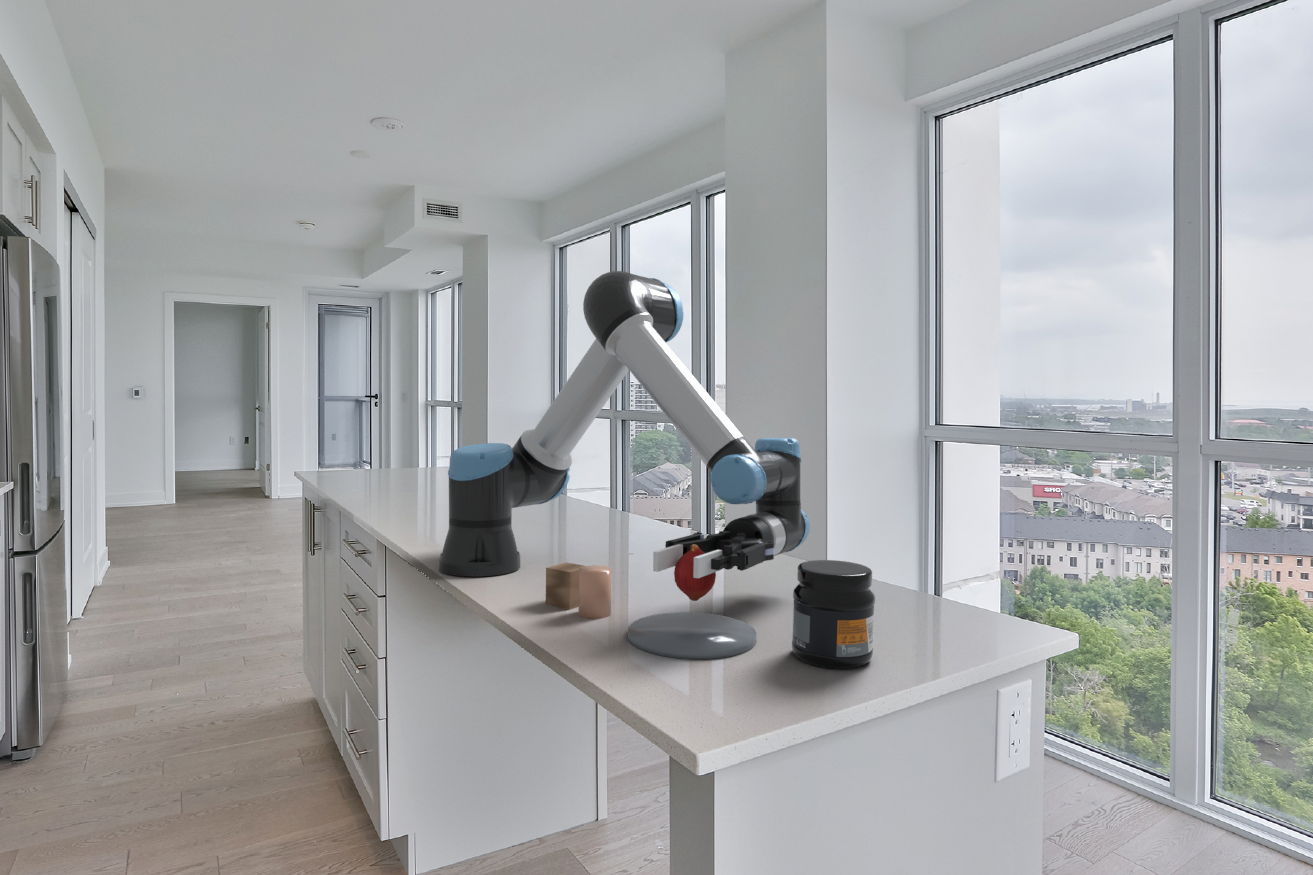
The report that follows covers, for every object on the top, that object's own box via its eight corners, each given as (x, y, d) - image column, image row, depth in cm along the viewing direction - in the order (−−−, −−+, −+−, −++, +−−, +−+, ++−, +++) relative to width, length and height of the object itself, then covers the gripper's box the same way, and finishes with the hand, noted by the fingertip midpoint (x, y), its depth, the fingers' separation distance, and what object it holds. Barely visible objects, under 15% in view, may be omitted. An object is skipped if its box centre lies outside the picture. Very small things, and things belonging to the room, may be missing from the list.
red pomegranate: (693, 593, 115) (694, 538, 114) (723, 601, 111) (725, 544, 110) (665, 599, 111) (666, 543, 110) (695, 608, 107) (696, 549, 106)
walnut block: (545, 604, 127) (546, 567, 126) (565, 598, 131) (566, 562, 130) (569, 609, 124) (570, 572, 123) (589, 603, 128) (590, 566, 128)
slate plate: (601, 641, 109) (602, 634, 108) (671, 612, 124) (671, 605, 124) (717, 668, 99) (717, 661, 99) (777, 633, 114) (777, 626, 114)
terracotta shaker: (571, 614, 121) (572, 569, 121) (591, 607, 125) (592, 563, 125) (597, 620, 118) (598, 574, 118) (617, 613, 123) (618, 568, 122)
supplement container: (889, 666, 101) (893, 573, 100) (818, 675, 97) (821, 579, 97) (842, 641, 111) (845, 556, 110) (776, 648, 107) (779, 561, 106)
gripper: (807, 570, 120) (737, 603, 101) (701, 555, 131) (618, 582, 111) (808, 521, 120) (738, 545, 101) (702, 509, 130) (619, 529, 111)
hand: (675, 564), depth 106 cm, fingers closed on red pomegranate, 6 cm apart
